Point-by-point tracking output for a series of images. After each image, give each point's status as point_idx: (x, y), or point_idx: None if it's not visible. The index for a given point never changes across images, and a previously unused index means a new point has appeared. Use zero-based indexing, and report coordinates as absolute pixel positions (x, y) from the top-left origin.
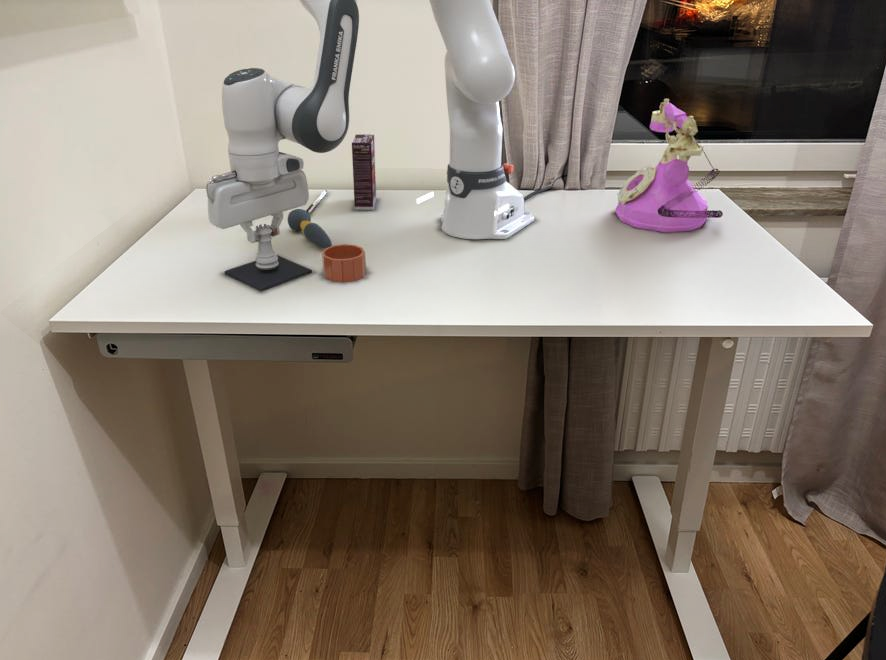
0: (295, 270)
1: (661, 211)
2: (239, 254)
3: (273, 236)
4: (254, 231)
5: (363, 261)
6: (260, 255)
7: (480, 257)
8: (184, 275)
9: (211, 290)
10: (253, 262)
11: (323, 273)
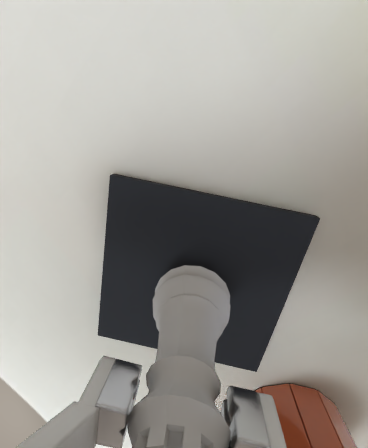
0: (231, 343)
1: None
2: (280, 72)
3: (221, 412)
4: (122, 424)
5: None
6: (158, 325)
7: None
8: (18, 54)
9: (23, 226)
10: (219, 206)
11: (259, 391)
